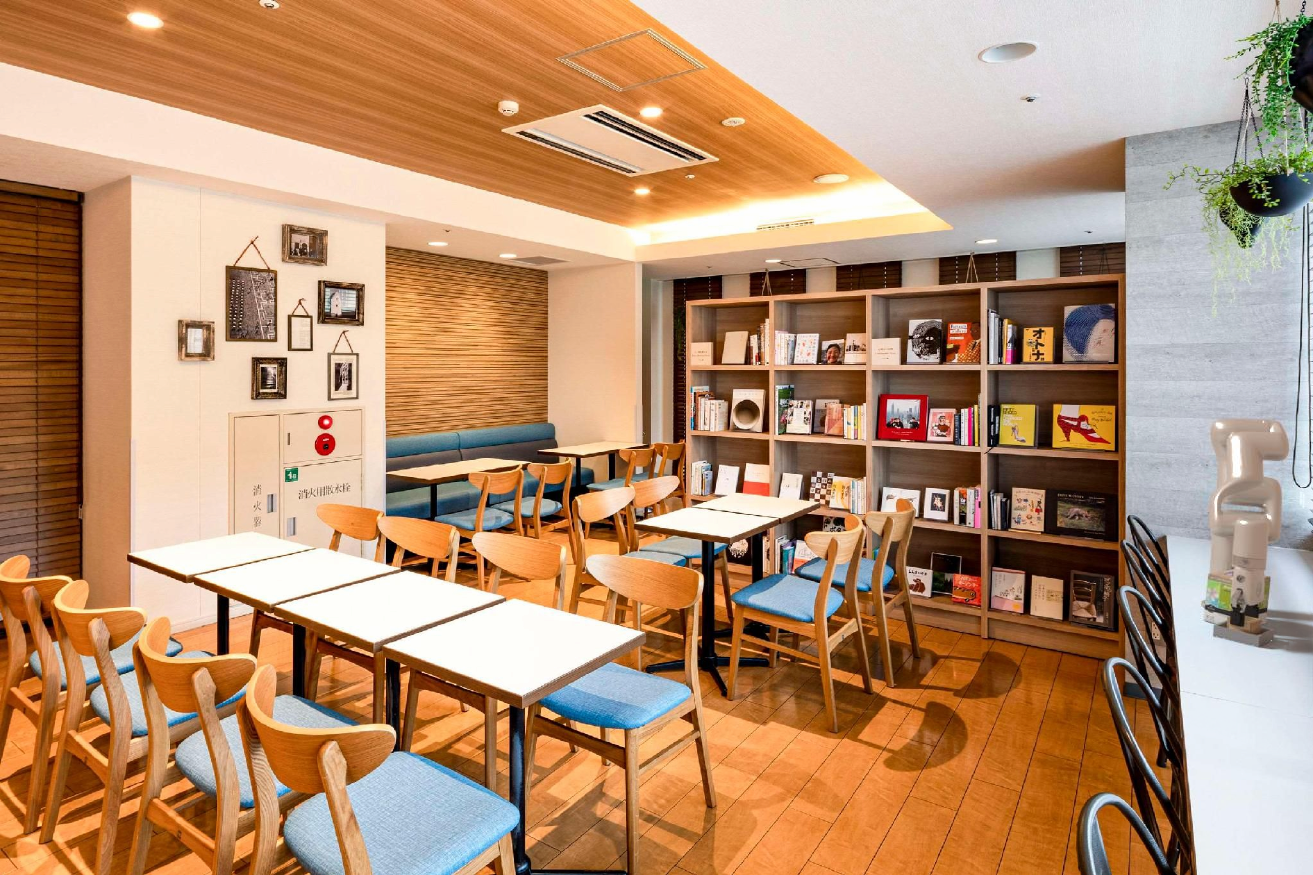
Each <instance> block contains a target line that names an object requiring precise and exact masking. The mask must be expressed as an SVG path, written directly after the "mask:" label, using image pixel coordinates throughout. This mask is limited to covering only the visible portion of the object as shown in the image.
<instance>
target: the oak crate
mask: <svg viewBox="0 0 1313 875" xmlns="http://www.w3.org/2000/svg"><path fill="white" fill-rule="evenodd" d="M1262 625H1263V624H1262V620H1261V619H1257V618H1253V617H1248V616H1245V623H1244V627H1239V626H1235V625H1231V624H1230V616H1229V617H1227V628H1229V629H1233V630H1237V631H1241V632H1245V633H1249V634H1253V635H1260V634H1261V627H1262Z"/></svg>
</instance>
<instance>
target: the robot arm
mask: <svg viewBox="0 0 1313 875" xmlns="http://www.w3.org/2000/svg"><path fill="white" fill-rule="evenodd" d="M1209 431H1210V442H1211V445H1212V448H1213V450H1214V454H1215V456H1216V459H1217V475H1216V476H1217V478H1216V479H1217V480H1216V489H1215V491H1214V492H1213V493H1212V495H1211V497H1210V500H1209V505H1208V510H1209V511H1208V515H1209V516H1208V525H1209V530H1210V538H1211V539H1210V541H1211V543H1210V544H1211V547H1210V563H1209V573H1214V572H1220V571H1226V570H1232V569H1234V574H1233V580H1232V588H1231V614H1230V624H1231V625H1235V626H1239V627H1244V623H1245V616H1248V617H1253V618H1257V619H1259V606H1260V602H1262V601H1263V600H1264V585H1265V577H1264V575H1265V571H1266V569H1267V560H1268V545H1269V544H1275V543H1277V542H1278V541H1279V539H1280V537H1281V533H1282V510H1283V507H1282V506H1283V505H1282V503H1283V502H1282V499H1283V497H1282V496H1283V495H1282V494H1283V493H1282V491H1283V490H1282V486H1281V484H1280V482H1279V481H1278V480H1277V479H1275V478H1273V477H1269V476H1264V461H1267V462H1268V461H1271V462H1272V461H1274V462H1283V461H1284V460H1286V459H1287V458H1288V455H1289V452H1290V443H1289V442H1290V441H1289V438H1288V435H1287V433H1286V431H1285V429H1284V426H1283V425H1282V423H1281V422H1280V421H1278V420H1274V419H1256V418H1255V419H1253V418H1252V419H1251V418H1221V419H1217V420H1214V422H1212V424H1211V426H1210V430H1209ZM1222 504H1225V505H1230V506H1238V507H1250V508H1251V507H1252V508H1259V509H1260V510H1261V511H1256V510H1254V511H1252V510H1243V509H1232V508H1228V509H1226V508H1225V509H1224V508H1223V509H1222ZM1205 601H1206V599H1204V600H1203V599H1202V601H1201V603H1200V604H1201V606H1202V607H1203V608H1205ZM1243 601H1244V602H1243ZM1247 604H1248V605H1247ZM1240 605H1242V606H1241V607H1240ZM1257 606H1258V607H1257ZM1244 610H1245V612H1244Z"/></svg>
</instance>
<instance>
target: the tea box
mask: <svg viewBox="0 0 1313 875" xmlns="http://www.w3.org/2000/svg"><path fill="white" fill-rule="evenodd" d="M1233 574H1234V569H1232V570H1226V571H1220V572H1214V573H1210V572H1209V573H1208V575H1207V584H1206V594H1205V600H1206V601H1205V607H1204V609H1203V610H1204V613H1203V621H1205V622H1209V623H1211V624H1214V625H1216V624H1219V623H1221V622H1224V621H1226V620H1227V617H1229V616H1230V614H1231V588H1232V580H1233ZM1264 577H1265V585H1264V600H1263V601H1262V602H1260V606H1259V619H1261V620H1262V624H1261V625H1265V624H1266V623H1267V617H1268V609H1269V608H1268V607H1269V598H1270V587H1271V575H1270V576H1269V575H1265V574H1264ZM1243 602H1244V601H1243ZM1247 605H1248V604H1247ZM1241 606H1242V605H1240V607H1241ZM1257 607H1258V606H1257ZM1244 612H1245V610H1244Z"/></svg>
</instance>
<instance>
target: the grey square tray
mask: <svg viewBox="0 0 1313 875" xmlns="http://www.w3.org/2000/svg"><path fill="white" fill-rule="evenodd" d="M1212 631H1213V632H1212V637H1216V636H1217V638H1219V637H1221V638H1220V639H1223V638H1225V639H1224V640H1227V639H1228V640H1227V641H1231V640H1233V641H1232V642H1234V643H1235V642H1236V643H1239V642H1240V644H1243V643H1244V645H1248V646H1251V645H1254V646H1253V647H1255V646H1256V648H1260V647H1262V646H1264V645H1266V644H1269V643H1271V642H1272V641H1271V640H1273V641H1274V638H1275V629H1273V628H1270V627H1269V628H1268V627H1266V626H1261V634H1260V635H1253V634H1249V633H1245V632H1241V631H1237V630H1233V629H1229V628H1227V620H1226V621H1224V622H1221V623H1219V624H1214V625H1213V630H1212ZM1270 641H1271V642H1270ZM1261 645H1262V646H1261Z"/></svg>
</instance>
